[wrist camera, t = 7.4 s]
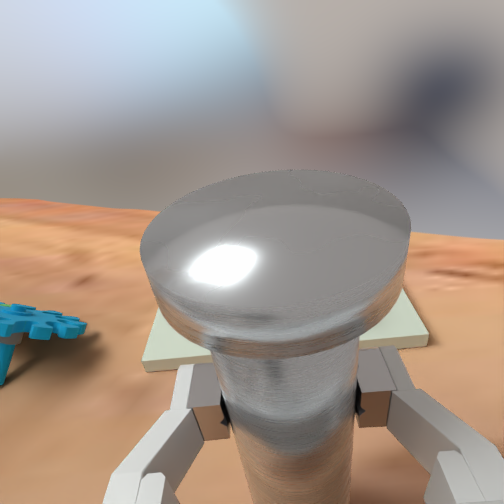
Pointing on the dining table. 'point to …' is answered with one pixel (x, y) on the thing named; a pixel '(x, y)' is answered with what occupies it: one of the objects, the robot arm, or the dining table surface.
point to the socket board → (185, 352)
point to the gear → (31, 329)
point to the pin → (282, 311)
